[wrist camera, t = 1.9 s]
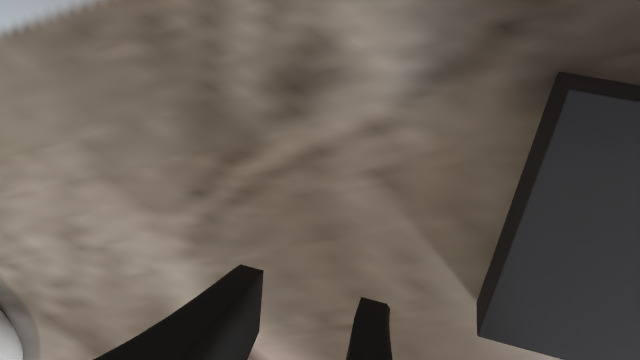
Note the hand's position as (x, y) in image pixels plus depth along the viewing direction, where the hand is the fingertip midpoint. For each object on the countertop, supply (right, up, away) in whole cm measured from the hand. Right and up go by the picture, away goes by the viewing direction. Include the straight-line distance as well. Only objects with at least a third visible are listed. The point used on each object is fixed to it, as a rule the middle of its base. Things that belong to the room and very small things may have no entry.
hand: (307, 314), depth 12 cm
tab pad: (+11, +2, +6) cm, 12 cm away
